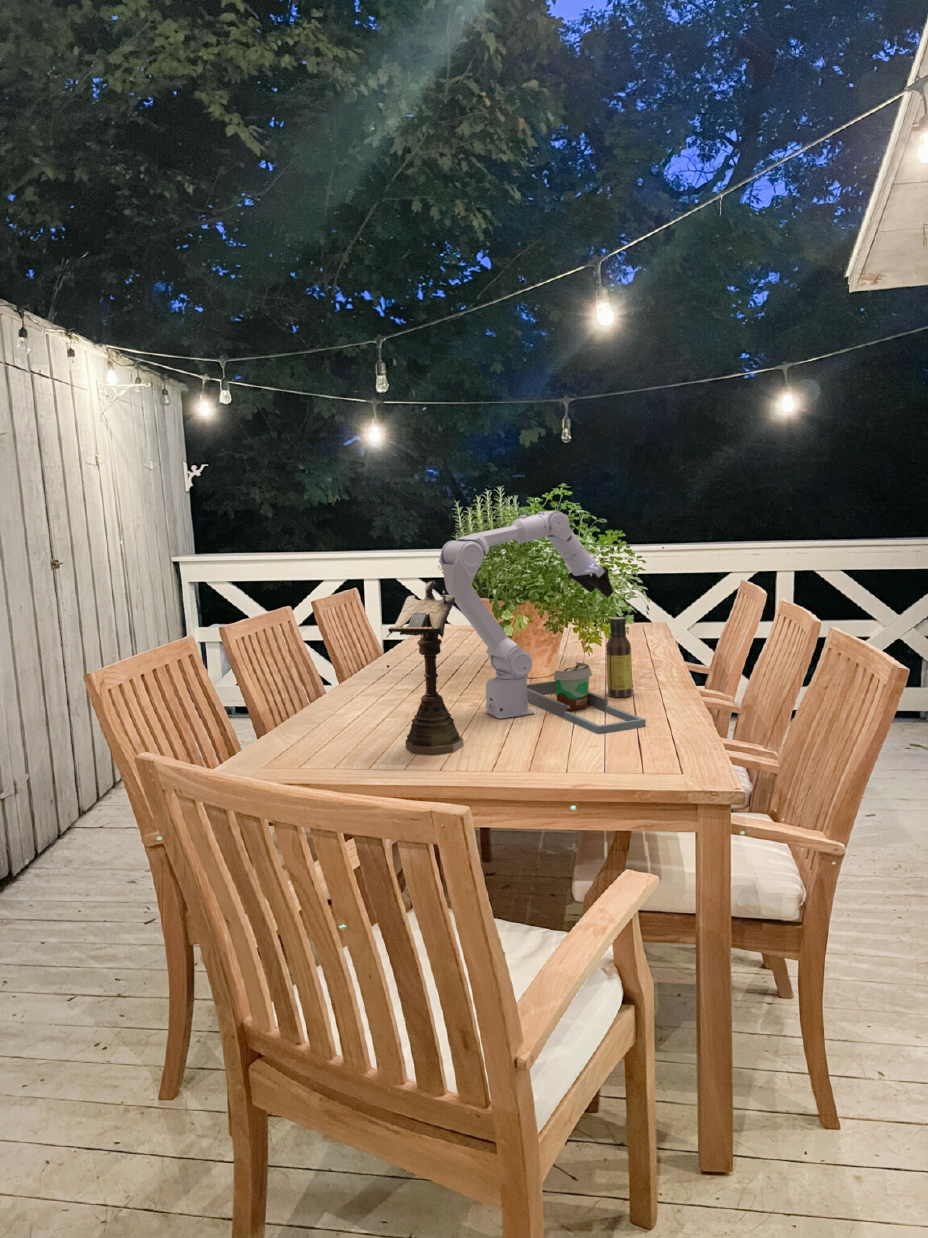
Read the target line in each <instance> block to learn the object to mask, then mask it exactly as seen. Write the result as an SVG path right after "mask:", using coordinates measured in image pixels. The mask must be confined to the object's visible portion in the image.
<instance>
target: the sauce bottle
mask: <svg viewBox="0 0 928 1238" xmlns="http://www.w3.org/2000/svg"><path fill="white" fill-rule="evenodd" d="M626 624H627V618H626V617H624V616H617V617H616V616H613V617H610V618H609V625H610V633H609V634H610V637H609V639H608V640H607V642H606V646H605V647H606V655H605V657H606V659H605V660H606V678H607V679H606V681H607V682H606V683H607V689H608V690H607V694H608V696H609V697H611V698H625V697H630V696H631V695H632V694H633V687H634V686H633V665H632V664H633V663H632V648H631V646H632V645H631V642H630V640H629V639H628V638H627V635H626V634H627V632H626Z"/></svg>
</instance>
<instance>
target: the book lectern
mask: <svg viewBox="0 0 928 1238" xmlns="http://www.w3.org/2000/svg"><path fill="white" fill-rule="evenodd" d="M435 586H436V580H434V579H433V580H430V581H428V582H427V583H426V584H425V587H424V592H425V596H424V598H423V599H417V595H408V596H407V597H406V598H405V601H404V604H403V606H402V609H401V612H400V613H399V615H398V617H397V619H396V622H395V623H394V625H393V626H392V627H391V626H390V627H388V629H387V631H388V634H387V636H386V638H389V636H390V635H392V634H393V633H399V635H400V636H403V635H405V636H414V637H415V636H420V639H418V640H417V642H416V644H417V645H418V647H419V648H418V653H419V654H420V655H422V656H423V658H424V668H425V669H424V675H423V677H424V678H425V692H424V695H422V696H421V698H420V704H419V707H418V710H417V711H416V714H414V715H413V717H414V718H413V719H412V720H411V722H412V723H411V725H410V729H409V732H408V734H407V736H406V738H407V739H405V748H406V749H407V750H408V751H409V752H410V753H411V754H414V755H415V754H416V755H427V756H439V755H444V754H451V753H454V752H456V751H458V750H460V749H461V748H462V747H464V742H465V741H464V738H463V737H462V736H460V734H459V732H458V731H457V727H456V724H455V722H454V721H455V718H453V717H452V714H451V713H450V712H449V711H448V708H447V707H446V704H445V702H444V697H443V696H442V695H440V693H439V692H438V691H437V683H438V681H437V678H438V677H439V675H438V673H437V655H439V654H441V644H442V643H443V641H442V639H443V638H444V636H445V625H446V622H447V620H448V616H449V615H450V612H451V610H452V609H453V606H454V604H455V602H454V601H455V597H454V596H451V595H449V594H446V591H445V590H442V595H441V594H440V597H441V599H436V598H435V596H434V593H433V592H434V591H433V589H434V588H435ZM408 622H409V623H408ZM407 623H408V625H407ZM405 625H407V626H405ZM439 636H440V637H441V638H442V639H441V638H439Z"/></svg>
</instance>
